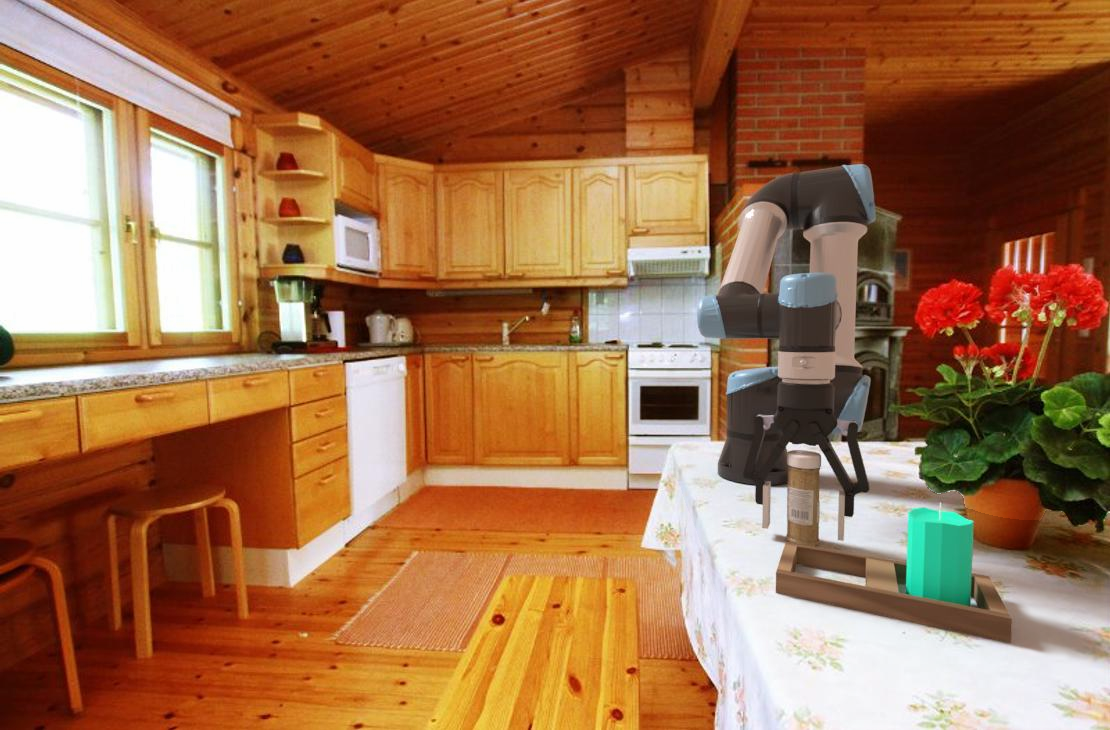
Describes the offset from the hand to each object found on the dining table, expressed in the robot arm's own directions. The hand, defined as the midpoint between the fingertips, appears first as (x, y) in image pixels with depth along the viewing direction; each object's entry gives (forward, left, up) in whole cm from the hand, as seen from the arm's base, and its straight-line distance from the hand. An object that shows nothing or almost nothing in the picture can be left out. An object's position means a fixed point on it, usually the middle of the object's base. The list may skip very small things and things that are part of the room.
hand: (802, 531), depth 80 cm
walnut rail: (+13, +10, -2) cm, 16 cm away
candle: (+13, +15, -2) cm, 20 cm away
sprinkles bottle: (0, 0, -2) cm, 2 cm away
